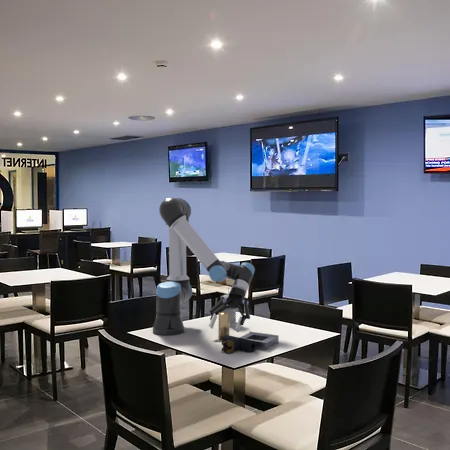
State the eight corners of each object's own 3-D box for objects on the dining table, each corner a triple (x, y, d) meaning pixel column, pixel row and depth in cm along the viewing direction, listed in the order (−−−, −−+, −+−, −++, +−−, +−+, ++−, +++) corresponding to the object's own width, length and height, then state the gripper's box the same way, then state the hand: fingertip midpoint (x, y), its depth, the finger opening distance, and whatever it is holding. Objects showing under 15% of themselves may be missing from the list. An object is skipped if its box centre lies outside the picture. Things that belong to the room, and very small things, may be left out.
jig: (236, 345, 223) (236, 338, 223) (250, 338, 235) (250, 331, 235) (265, 350, 216) (265, 342, 216) (278, 342, 228) (278, 335, 228)
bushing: (216, 339, 233) (216, 313, 232) (221, 337, 237) (221, 311, 237) (226, 341, 230) (226, 314, 230) (231, 338, 235) (231, 312, 234)
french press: (221, 326, 260) (221, 277, 259) (216, 321, 271) (216, 274, 270) (240, 325, 262) (240, 276, 262) (234, 320, 274) (234, 273, 273)
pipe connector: (239, 344, 206) (211, 337, 216) (239, 357, 207) (211, 350, 216) (256, 339, 215) (229, 333, 225) (256, 352, 215) (229, 345, 225)
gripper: (264, 298, 242) (251, 336, 229) (218, 293, 253) (202, 330, 241) (260, 288, 237) (246, 327, 224) (213, 284, 248) (197, 320, 236)
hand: (223, 328), depth 232 cm, fingers open, 13 cm apart
